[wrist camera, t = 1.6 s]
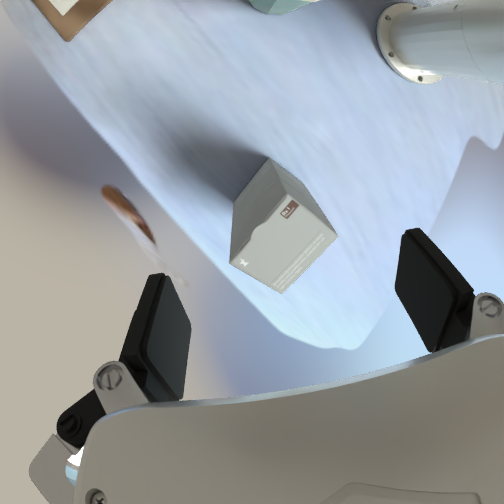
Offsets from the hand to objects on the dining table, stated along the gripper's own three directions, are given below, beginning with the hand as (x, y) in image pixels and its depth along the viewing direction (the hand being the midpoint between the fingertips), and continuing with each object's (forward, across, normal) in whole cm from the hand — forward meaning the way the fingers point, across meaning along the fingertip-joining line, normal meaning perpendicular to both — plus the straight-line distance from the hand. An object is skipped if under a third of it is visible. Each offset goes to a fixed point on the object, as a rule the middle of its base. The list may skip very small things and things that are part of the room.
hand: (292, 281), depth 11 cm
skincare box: (+28, 0, +7) cm, 29 cm away
